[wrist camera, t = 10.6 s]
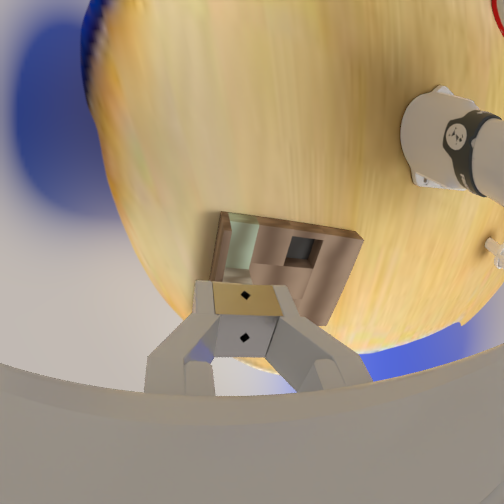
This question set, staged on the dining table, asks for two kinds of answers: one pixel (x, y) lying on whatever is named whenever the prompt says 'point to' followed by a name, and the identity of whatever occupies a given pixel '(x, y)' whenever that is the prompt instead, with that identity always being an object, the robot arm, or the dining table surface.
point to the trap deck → (289, 259)
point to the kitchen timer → (499, 13)
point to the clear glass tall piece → (496, 252)
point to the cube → (237, 276)
